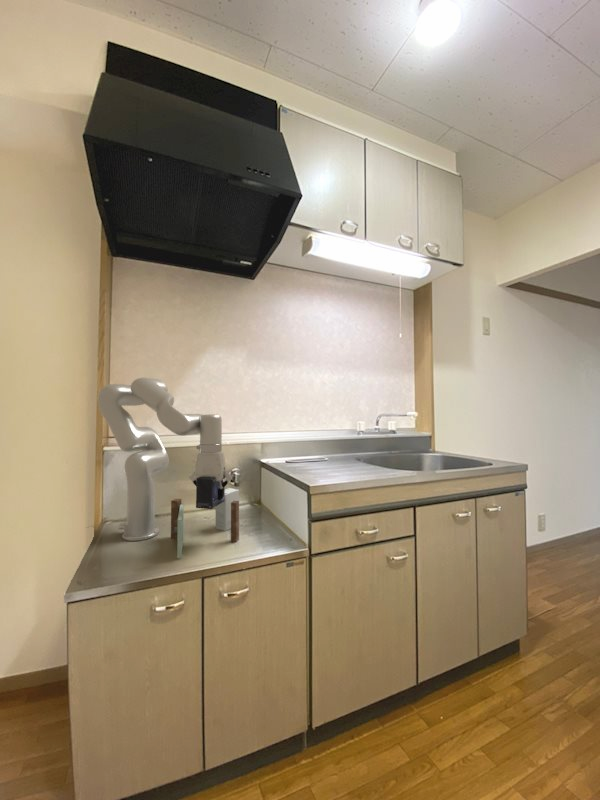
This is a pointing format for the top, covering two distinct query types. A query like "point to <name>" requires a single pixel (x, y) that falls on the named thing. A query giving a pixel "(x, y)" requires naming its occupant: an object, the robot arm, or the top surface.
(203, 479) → the small box
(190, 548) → the top surface
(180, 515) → the door
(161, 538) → the top surface
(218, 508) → the skincare box
